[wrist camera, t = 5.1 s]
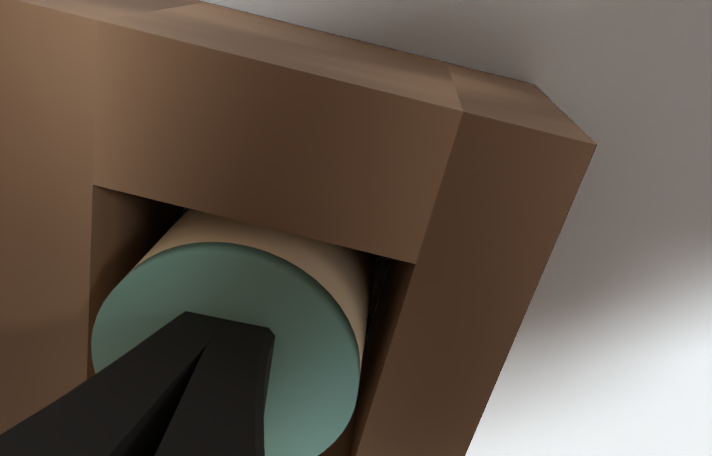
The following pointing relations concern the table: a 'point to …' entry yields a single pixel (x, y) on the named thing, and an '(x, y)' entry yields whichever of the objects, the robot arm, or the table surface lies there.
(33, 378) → the walnut block
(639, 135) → the table surface
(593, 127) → the table surface
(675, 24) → the table surface
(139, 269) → the peg
